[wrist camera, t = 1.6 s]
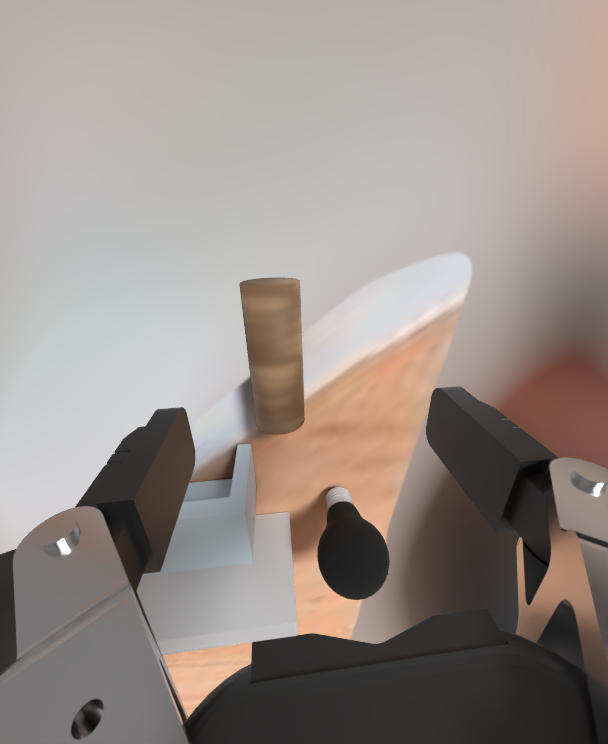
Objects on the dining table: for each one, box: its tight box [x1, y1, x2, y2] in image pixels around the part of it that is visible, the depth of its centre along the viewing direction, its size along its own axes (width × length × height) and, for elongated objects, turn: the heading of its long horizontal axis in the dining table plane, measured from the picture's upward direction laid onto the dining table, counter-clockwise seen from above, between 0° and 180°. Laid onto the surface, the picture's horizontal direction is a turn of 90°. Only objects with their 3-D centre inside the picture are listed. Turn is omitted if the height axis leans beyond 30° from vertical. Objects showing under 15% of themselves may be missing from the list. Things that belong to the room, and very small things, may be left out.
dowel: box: [240, 278, 305, 434], centre depth 22 cm, size 11×4×4 cm
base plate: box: [137, 512, 298, 655], centre depth 27 cm, size 2×14×10 cm, turn 92°
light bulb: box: [318, 487, 389, 600], centre depth 27 cm, size 6×6×10 cm
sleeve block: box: [146, 444, 257, 576], centre depth 25 cm, size 6×8×8 cm
